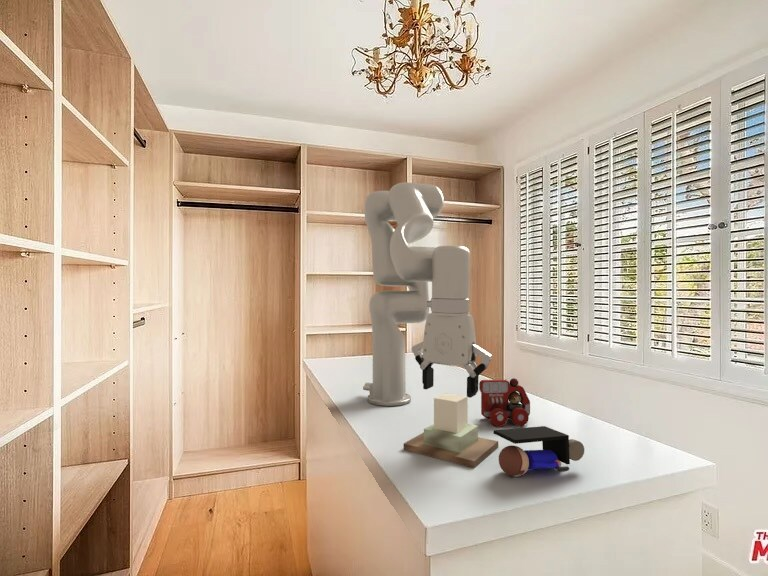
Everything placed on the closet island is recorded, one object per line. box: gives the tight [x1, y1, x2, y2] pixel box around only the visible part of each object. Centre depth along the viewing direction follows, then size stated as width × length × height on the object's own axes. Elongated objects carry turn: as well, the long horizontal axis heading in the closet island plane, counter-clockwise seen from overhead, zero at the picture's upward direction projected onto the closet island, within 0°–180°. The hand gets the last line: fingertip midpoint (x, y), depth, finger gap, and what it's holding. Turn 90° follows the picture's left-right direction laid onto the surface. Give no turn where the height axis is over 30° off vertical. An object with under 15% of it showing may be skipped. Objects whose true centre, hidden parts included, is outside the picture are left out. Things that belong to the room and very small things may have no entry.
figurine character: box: [492, 425, 585, 478], centre depth 74 cm, size 7×8×15 cm
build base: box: [403, 423, 499, 469], centre depth 84 cm, size 15×12×4 cm
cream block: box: [433, 392, 469, 433], centre depth 84 cm, size 5×5×6 cm
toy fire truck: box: [478, 377, 531, 428], centre depth 101 cm, size 7×12×10 cm, turn 97°
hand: (449, 391), depth 85 cm, fingers open, 9 cm apart
